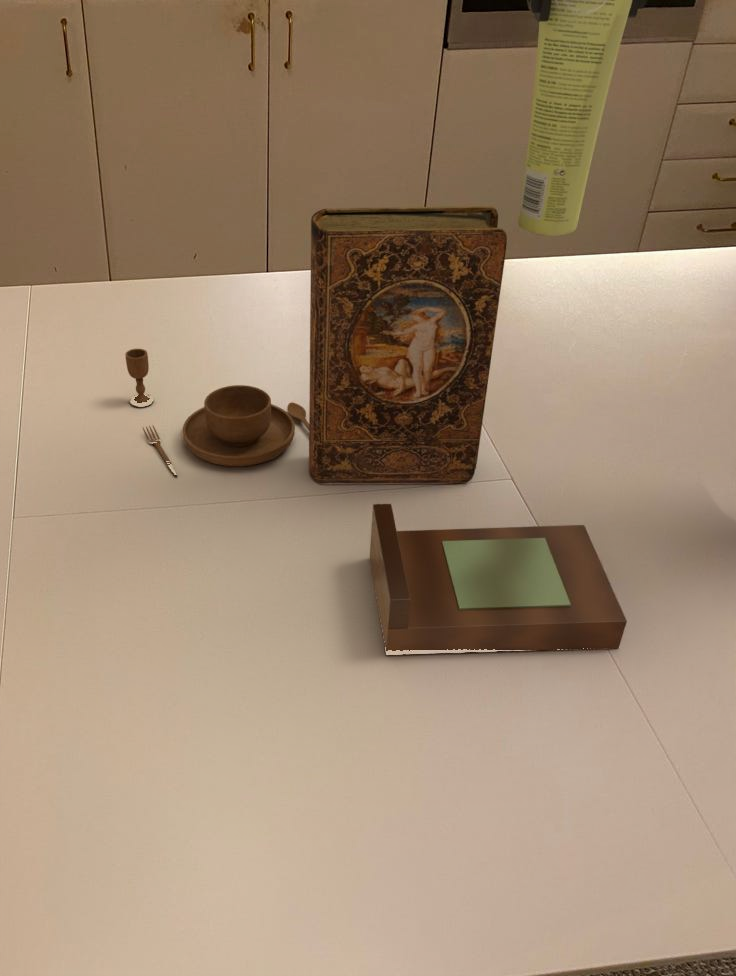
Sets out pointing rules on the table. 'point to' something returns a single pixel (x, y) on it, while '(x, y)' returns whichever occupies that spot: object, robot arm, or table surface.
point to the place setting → (228, 422)
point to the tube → (568, 109)
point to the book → (401, 341)
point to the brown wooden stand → (491, 588)
